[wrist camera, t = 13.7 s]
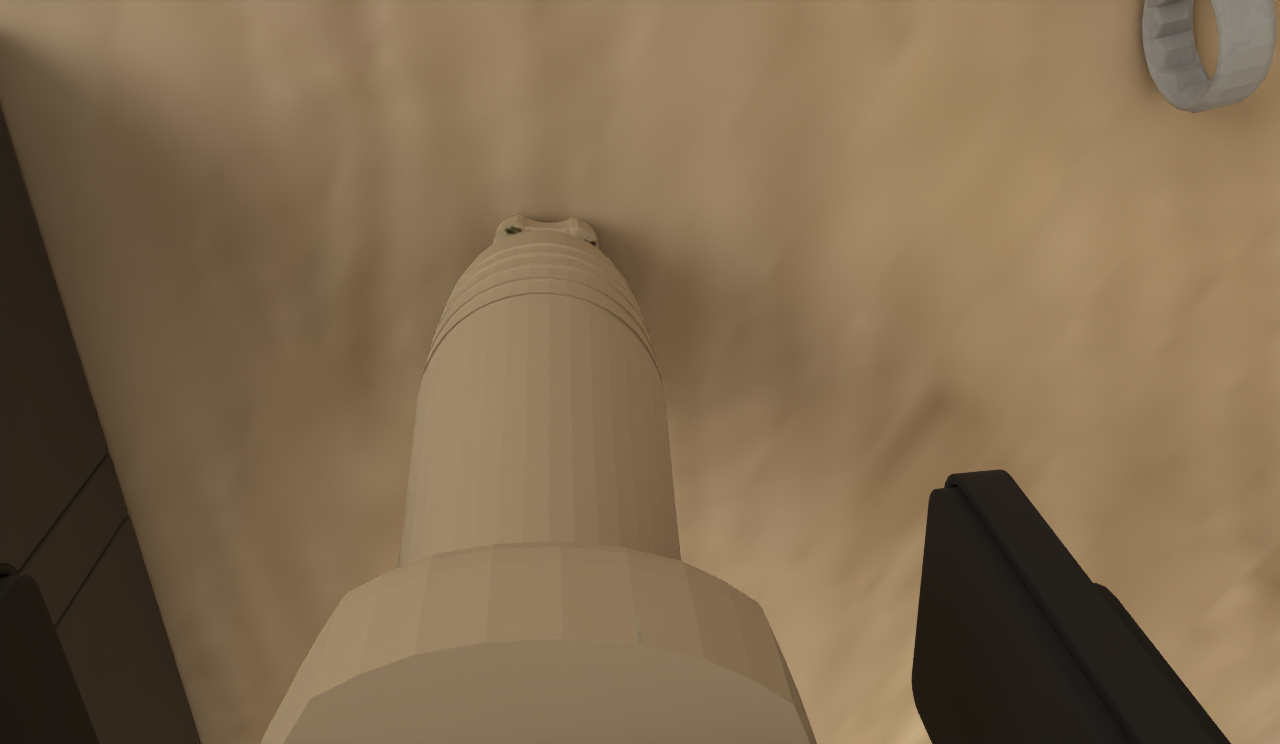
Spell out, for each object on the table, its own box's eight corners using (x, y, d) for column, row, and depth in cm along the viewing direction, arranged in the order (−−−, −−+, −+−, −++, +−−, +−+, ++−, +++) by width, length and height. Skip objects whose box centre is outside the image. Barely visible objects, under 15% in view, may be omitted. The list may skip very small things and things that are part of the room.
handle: (674, 135, 21) (919, 646, 7) (644, 421, 23) (778, 1180, 10) (425, 117, 20) (176, 631, 7) (424, 412, 23) (249, 1203, 9)
